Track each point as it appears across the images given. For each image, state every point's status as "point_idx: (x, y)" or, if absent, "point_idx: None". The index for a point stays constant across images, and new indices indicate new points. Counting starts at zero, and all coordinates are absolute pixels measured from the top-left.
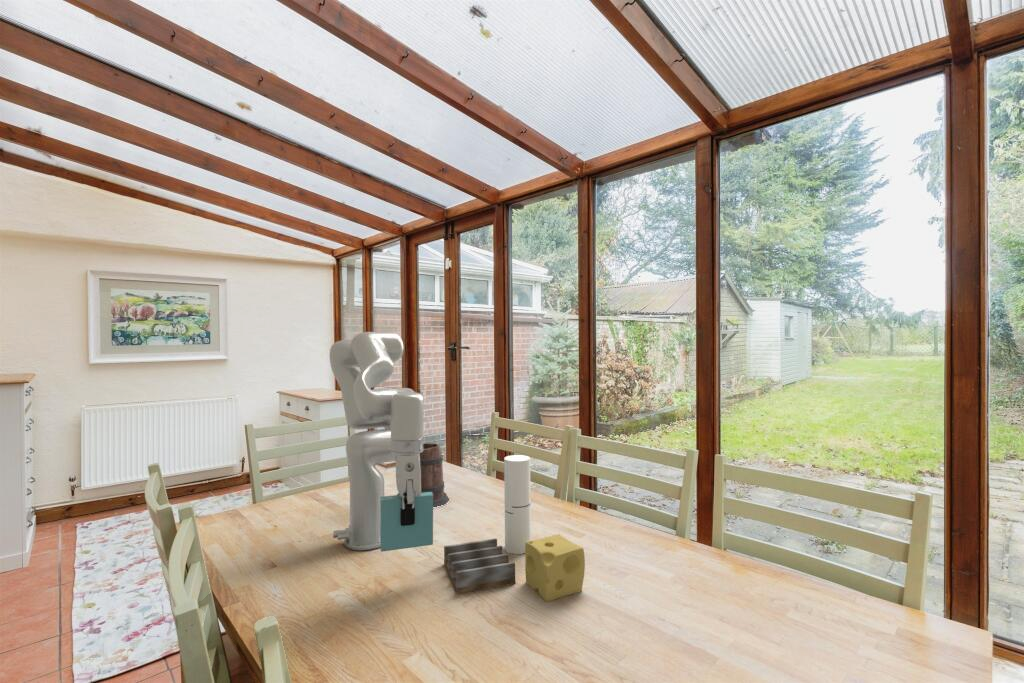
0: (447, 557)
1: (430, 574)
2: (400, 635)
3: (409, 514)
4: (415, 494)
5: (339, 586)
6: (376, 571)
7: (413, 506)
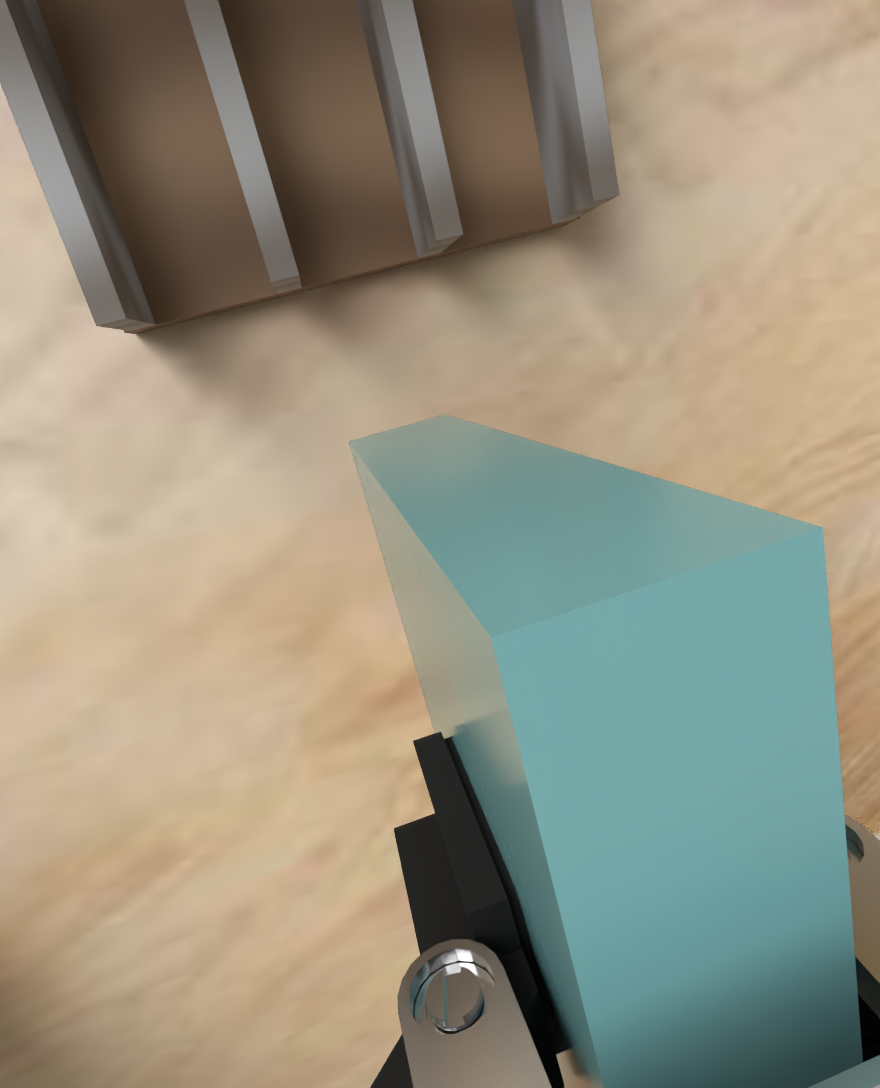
0: (141, 300)
1: (296, 422)
2: (860, 499)
3: None
4: (695, 1027)
5: None
6: (245, 757)
7: (863, 840)
